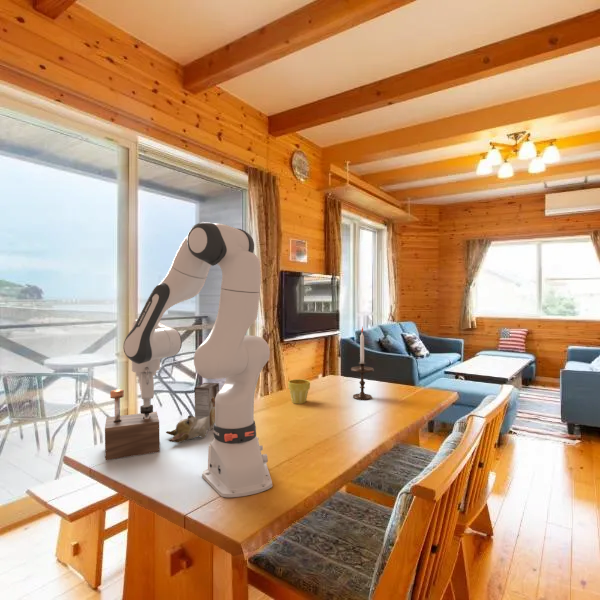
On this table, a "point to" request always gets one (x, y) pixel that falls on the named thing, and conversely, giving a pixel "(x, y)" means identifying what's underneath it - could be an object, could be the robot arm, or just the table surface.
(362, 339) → the candlestick
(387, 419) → the table surface
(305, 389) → the plant pot
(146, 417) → the black knob plunger
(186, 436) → the ceramic sculpture
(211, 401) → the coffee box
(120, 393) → the terracotta knob plunger
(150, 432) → the block
